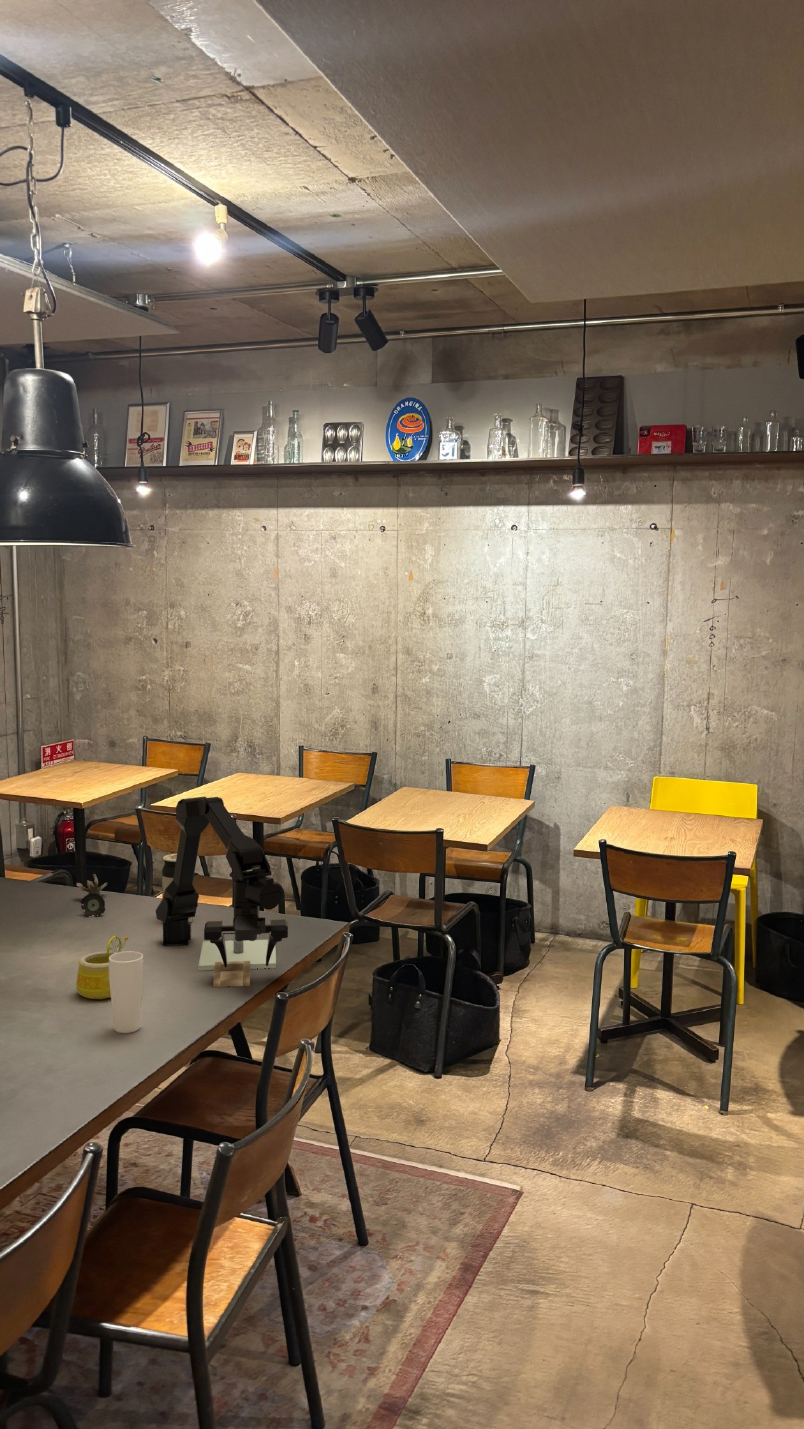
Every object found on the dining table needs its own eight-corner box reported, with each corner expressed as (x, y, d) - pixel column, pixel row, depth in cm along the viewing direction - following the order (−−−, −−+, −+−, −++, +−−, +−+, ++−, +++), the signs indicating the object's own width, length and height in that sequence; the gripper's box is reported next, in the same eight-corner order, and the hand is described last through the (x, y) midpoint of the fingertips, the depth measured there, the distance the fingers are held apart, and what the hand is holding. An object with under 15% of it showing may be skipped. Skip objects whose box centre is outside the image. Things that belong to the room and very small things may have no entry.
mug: (84, 1006, 219) (83, 951, 217) (71, 989, 228) (70, 937, 227) (143, 995, 225) (143, 941, 224) (128, 979, 235) (127, 928, 233)
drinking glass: (139, 1036, 203) (138, 962, 202) (105, 1035, 204) (103, 961, 202) (148, 1022, 210) (147, 951, 209) (115, 1022, 210) (114, 950, 209)
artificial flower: (75, 923, 281) (65, 888, 281) (87, 909, 303) (78, 877, 303) (107, 913, 282) (97, 878, 282) (118, 900, 304) (108, 868, 304)
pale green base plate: (198, 970, 241) (198, 949, 240) (203, 946, 259) (203, 926, 258) (276, 968, 243) (276, 947, 243) (275, 944, 261) (275, 924, 261)
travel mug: (197, 919, 281) (197, 854, 280) (185, 927, 274) (184, 861, 272) (170, 916, 283) (170, 852, 281) (157, 925, 275) (156, 859, 274)
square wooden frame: (213, 987, 231) (213, 974, 230) (215, 974, 238) (215, 962, 238) (249, 985, 232) (249, 972, 231) (250, 973, 240) (250, 960, 239)
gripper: (202, 910, 225) (202, 980, 226) (288, 908, 227) (288, 977, 229) (205, 896, 236) (205, 963, 237) (287, 894, 238) (287, 960, 240)
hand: (246, 966), depth 235 cm, fingers open, 9 cm apart
